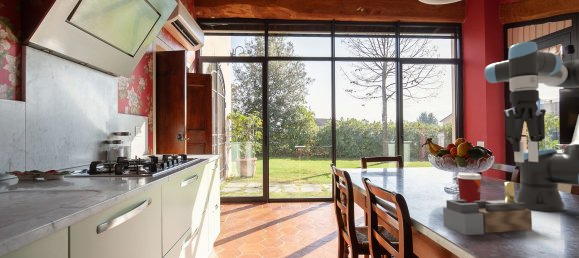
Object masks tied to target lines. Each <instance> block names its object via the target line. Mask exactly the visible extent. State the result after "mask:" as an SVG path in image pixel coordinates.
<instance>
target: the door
mask: <svg viewBox="0 0 579 258" xmlns="http://www.w3.org/2000/svg"><path fill="white" fill-rule="evenodd" d="M501 200H505V198H504V199H487V200H485V199H484V200H483V199H482V200H480V201H473V203H477V204H479V213H482V214H483V228H484V234H487V233H489V234H490V233H502V232H515V231H518V232H519V231H531V230H533V219H532V218H533V217H532V209H526V203H522V202H521V203H502V204H485V201H501Z"/></svg>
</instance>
